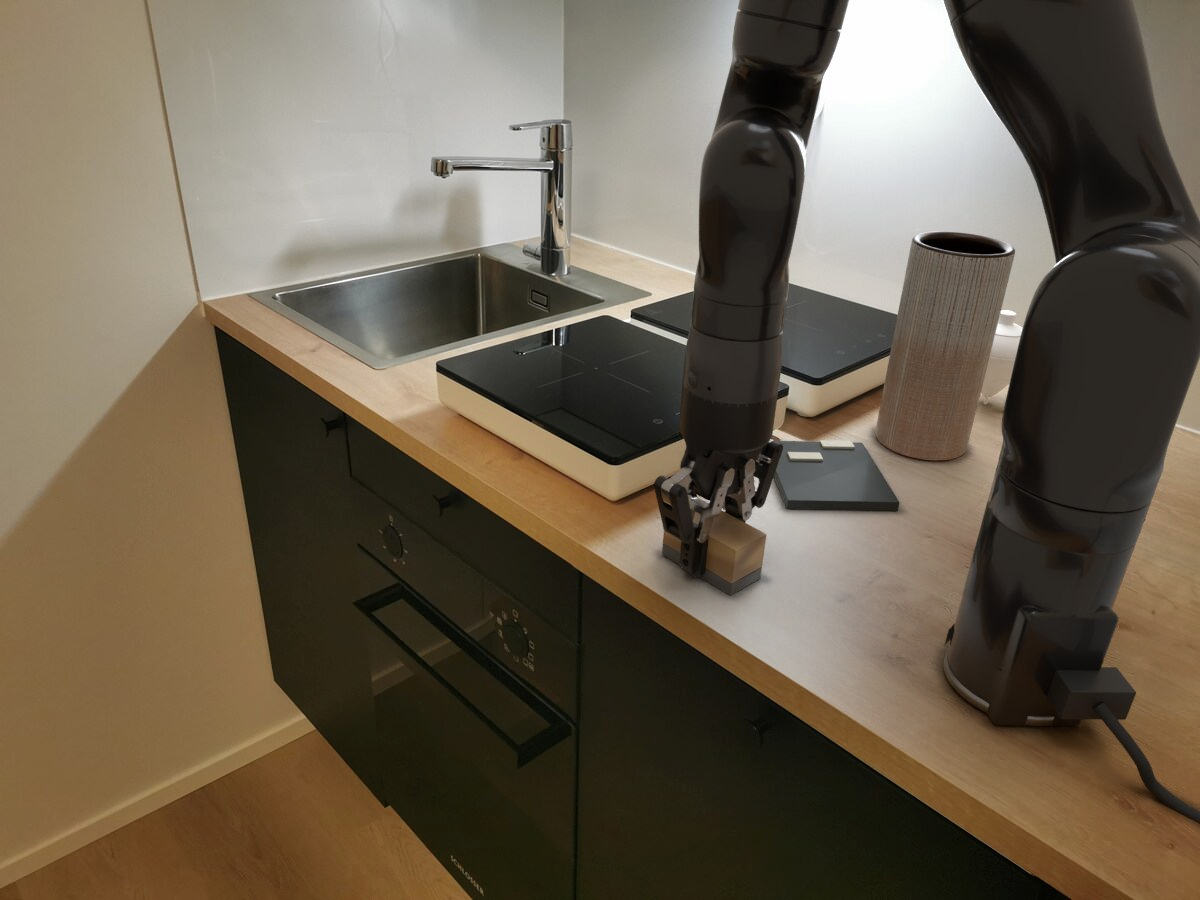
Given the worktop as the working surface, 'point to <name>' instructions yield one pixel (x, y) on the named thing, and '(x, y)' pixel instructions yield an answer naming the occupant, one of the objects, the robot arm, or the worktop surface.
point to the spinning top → (1002, 355)
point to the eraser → (726, 552)
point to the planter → (942, 342)
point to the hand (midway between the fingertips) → (710, 561)
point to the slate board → (833, 479)
